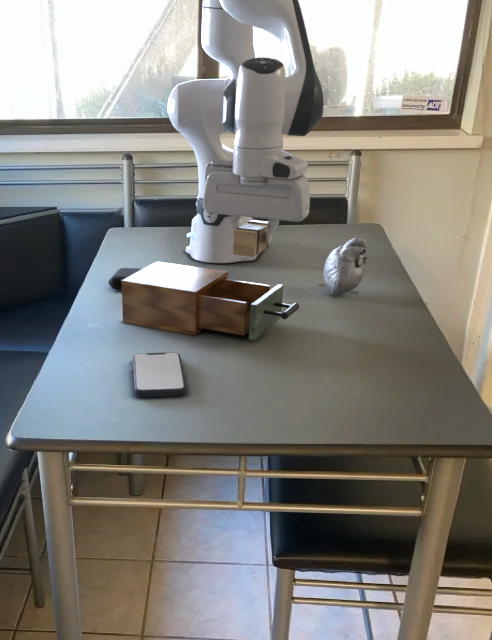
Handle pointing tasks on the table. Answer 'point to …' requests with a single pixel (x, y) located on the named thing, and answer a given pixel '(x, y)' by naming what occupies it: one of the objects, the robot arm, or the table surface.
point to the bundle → (250, 238)
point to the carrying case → (121, 277)
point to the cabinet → (166, 296)
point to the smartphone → (158, 375)
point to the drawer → (241, 307)
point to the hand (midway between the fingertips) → (253, 241)
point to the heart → (345, 267)
